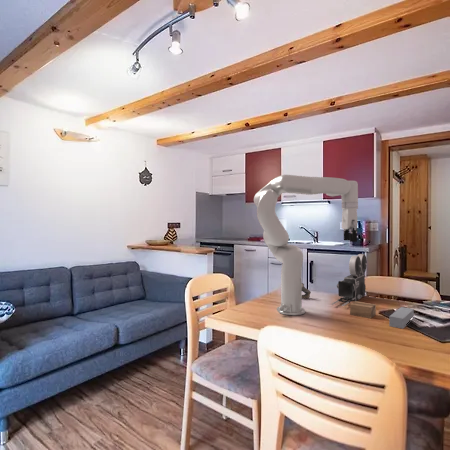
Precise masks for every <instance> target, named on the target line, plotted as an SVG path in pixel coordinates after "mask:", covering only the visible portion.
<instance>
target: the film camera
mask: <svg viewBox="0 0 450 450" xmlns="http://www.w3.org/2000/svg"><path fill="white" fill-rule="evenodd" d="M367 259H368V258H367V255H366V254H363V253H359V254H357V255H352V256H351V257H350V258H349V263H348V270H349V275H348V276H345V277H343V280H339V281H338V283H337V284H336V288H337V290H338V297H340V298H338V299H337V300H336V301H333V302H332V303H331V305H332V306H333V305H336V303H339V302H341V303H343V304H341V307H344V306H346V305H347V304H351V302H355V301H359V300H361V299H362V298H363V297H365V296H366V274H365V273H366V271H367V266H368V260H367Z"/></svg>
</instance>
